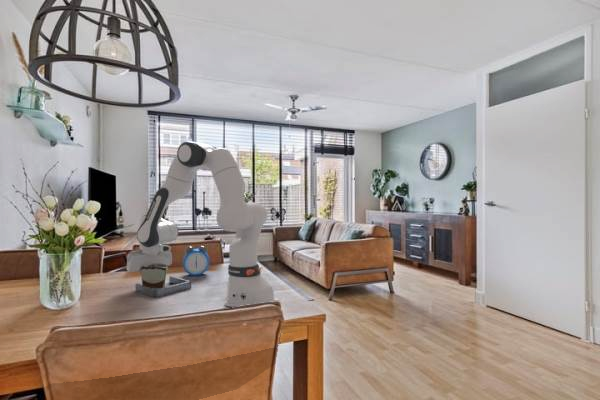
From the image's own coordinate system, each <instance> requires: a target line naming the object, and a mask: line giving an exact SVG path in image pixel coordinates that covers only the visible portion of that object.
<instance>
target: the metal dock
mask: <svg viewBox="0 0 600 400" xmlns="http://www.w3.org/2000/svg"><path fill="white" fill-rule="evenodd" d="M168 277H169V278H168V279H169V280H168V282H169V283H170V284H172V285H169V286H164V288H160V289H154V288H150V287H147V286H144V285H142V283H135V292H137V293H141V294H144V295H146V296H149V297H152V298H155V299H157V298H160V297H163V296H166V295H170V294H175V293H177V292H181V291H185V290H189V289H191V288H192V281H191V280H187V279H184V278H180V277H178V276H174V275H169V276H168Z"/></svg>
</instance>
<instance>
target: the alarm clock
mask: <svg viewBox="0 0 600 400" xmlns="http://www.w3.org/2000/svg"><path fill="white" fill-rule="evenodd" d="M184 254H185V255H184V257H183V261H182V267H183V270H184V272H185V273H187V275H189V276H188V277H190V276H193V277H194V276H201V275H202V276H204V273H205V272H206V271H207V270H208V269H209V266H210V256H209V254H208V248H207V246H205V245H200V246H198V247H197V246H195V248H194V247H193V246H192V245H190V246H186V248H185V249H184Z"/></svg>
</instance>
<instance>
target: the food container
mask: <svg viewBox="0 0 600 400" xmlns="http://www.w3.org/2000/svg"><path fill="white" fill-rule="evenodd" d="M140 270H141V271H140V272H141V273H140V274H141V275H140V276H141V285H144V286H147V287H150V288H153V289H160V288H164V287H166V286H165V284H166V277H167V272H168V271H169V268H168V266H167V265H166V264H161V263H154V264H151V265H149V266H143V265H142V266H141V267H140Z"/></svg>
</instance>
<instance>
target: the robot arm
mask: <svg viewBox="0 0 600 400" xmlns="http://www.w3.org/2000/svg"><path fill="white" fill-rule="evenodd" d="M237 163H238V162H237V161H236V159H235V157H234V156H233V154H232V152H231V151H230V150H229V149H228V148H226V147H216V146H211V145H209V144H205V143H203V142H196V141H193V140H192V141H189V140H188V141H184V142H182V143H181V144H180V145H179V146H178V148H177V152H176V154H175V156H174V157H173V159H172V162H171V164H170V165H169V169H168V171H167V175H166V178H165V180H164V182H163V184H162V185H161V187H160V188H159V189H158V190H156V193H155V194H154V196H153V199H152V200H151V203H150V205H149V208H148V210H147V212H146V214H145V215H144V214H143V216H141V218H140V221H139V227H138V230H137V233H136V238H137V240H138V242H139V249H138V250H131V251H130V252H128V253H127V256H126V271H127V272H128V273H136V272H141V270H140V267H141V266H142V265H143V266H149V265H151V264H154V263H161V264H166V265H167V267H168V266H171V265H172V264H173V255H172V254H173V253H172V250H171V249H172V247H171V246H170V245H166V244H167V243H171V242H174V241H176V239H177V238H178V237H179V228H178V225H177V224H176V223H175V222H173V221H170V220H167V219H165V218H163V216H164V213H165V211H166V209H167V207H169V205H171V204H172V203H173V202H176V201H177V200H180V199H183V198H185V197H186V196H188V194H189V193H190V191H191V189H192V187H193V183H194V179H195V175H196V173H197V172H198V171H199V170H201V171H209V172H211V175H212V177H213V180H214V182H215V185H216V188H217V191H218V194H219V201H220V202H219V203H220V205H219V209H218V210H217V213H216V223H217V225H218V228H220V229H221V230H224V231H227V232H234V233H235V236H234V237H233V240H232V241H231V242H230V244H229V264H228V266H227V267H228V268H227V270H228V272H227V273H228V275H229V276H228V281H227V286H226V295H225V299H224V300H225V301H224V303H223V304H224V306H226V307H231V308H235V307H234V306H240V305H247V304H255V303H261V302H270V301H280V302H281V299H280V298H279V297H275V294H274V289H273V286H272V284H270V283H269V282H268V280H267V279H266V278H265V277H264V276H263V275H262V274H261V271H262V270H263V266H262V267H260V265H259V263H258V247H259V241H260V240H259V239H260V235H261V232H262V229H263V226H264V224H265V223H266V222H267V219H268V210H267V209H266V207H265V206H264V205H263V204H260V203H257V202H246V201H245V197H244V191H245V189H246V182H245V180H244V176H243V175H242V173H241V170H240V168H239V165H238V164H237Z"/></svg>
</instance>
